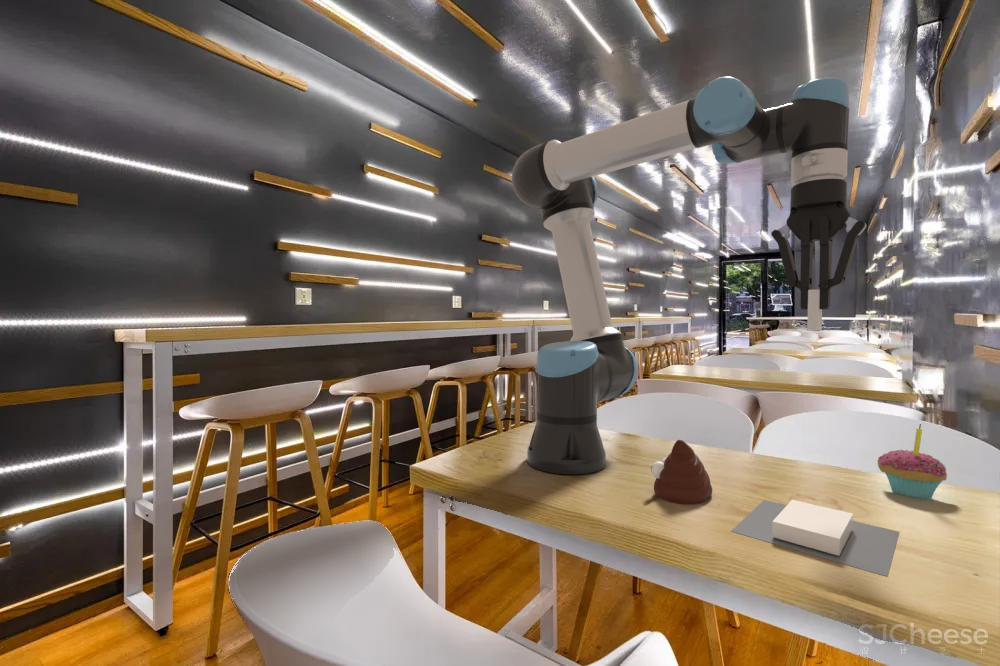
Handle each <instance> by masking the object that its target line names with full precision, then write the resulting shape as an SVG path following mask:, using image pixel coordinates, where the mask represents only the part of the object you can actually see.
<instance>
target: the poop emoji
mask: <svg viewBox="0 0 1000 666" xmlns="http://www.w3.org/2000/svg"><path fill="white" fill-rule="evenodd" d="M650 470H651V471H650V472H651V474H652V476H653V477H654V478H655V479H654V480H655V481H654V483H653V492H654V495H655V496H656V498H657V499H661V500H664V501H665V502H669V503H673V504H678V505H679V504H680V505H697V504H701V503H704V502H705V501H706V500H707V499H708V500H709V498H711V496H712V494H713V487H712V484H711V479H710V475H709V473H708V472H707V470H706V469H705V465H704V463H703V462H702V460H700V457H699V456H698V455H697V454H696V453H695V451H694V449H693V448H692V447H691V446H690V445H689V444H688V443H686V441H684V440H683V439H678V440H676V441H675V442H674V443H673V446H672V448H671V451H670V453H669V454H668V455H667V456H666V457H664V458H662V459H661V460H659V461H658V460H657V461H655V462H654V463H653V464H652V465H651V467H650Z"/></svg>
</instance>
